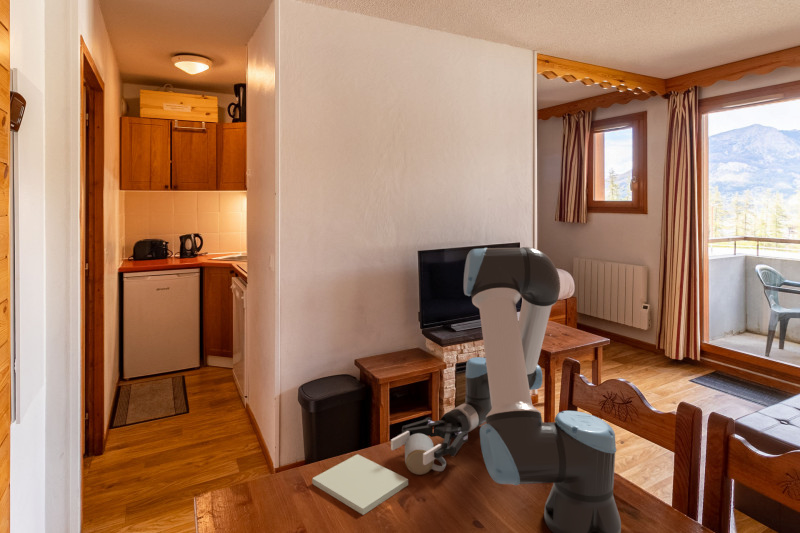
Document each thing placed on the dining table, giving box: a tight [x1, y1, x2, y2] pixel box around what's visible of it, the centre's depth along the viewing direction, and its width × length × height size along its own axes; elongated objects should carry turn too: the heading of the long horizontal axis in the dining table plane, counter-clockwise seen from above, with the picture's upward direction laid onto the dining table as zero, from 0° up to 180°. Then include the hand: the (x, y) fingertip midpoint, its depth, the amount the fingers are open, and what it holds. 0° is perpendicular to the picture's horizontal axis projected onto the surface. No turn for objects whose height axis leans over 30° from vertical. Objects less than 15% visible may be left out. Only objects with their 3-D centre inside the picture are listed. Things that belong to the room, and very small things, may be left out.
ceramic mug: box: [404, 433, 447, 476], centre depth 123 cm, size 11×8×8 cm
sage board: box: [311, 453, 409, 516], centre depth 117 cm, size 18×15×2 cm
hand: (407, 452), depth 120 cm, fingers closed on ceramic mug, 10 cm apart
